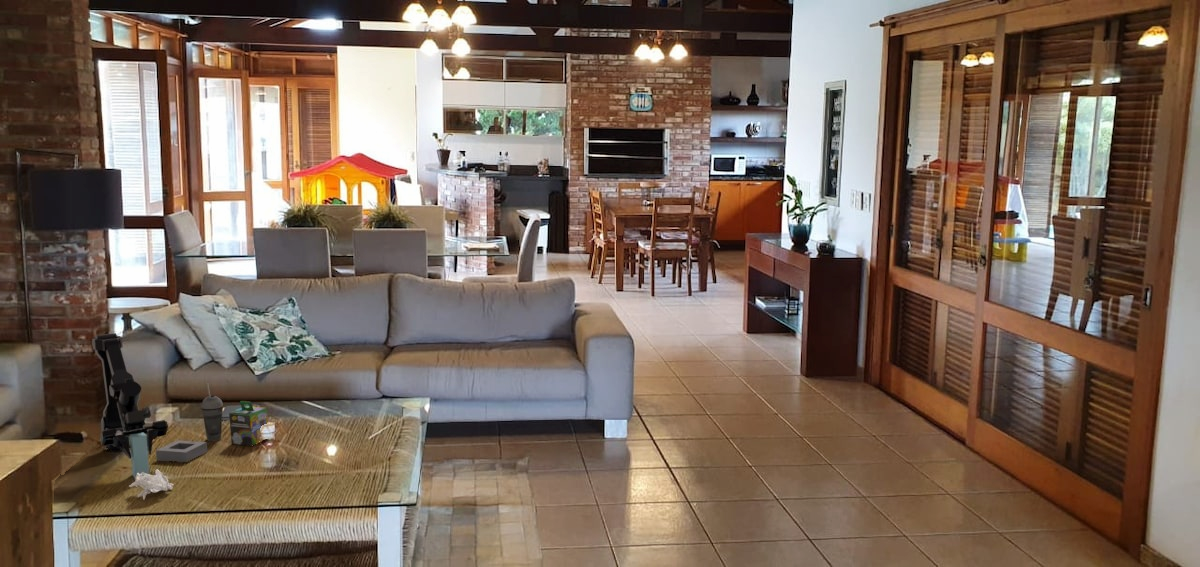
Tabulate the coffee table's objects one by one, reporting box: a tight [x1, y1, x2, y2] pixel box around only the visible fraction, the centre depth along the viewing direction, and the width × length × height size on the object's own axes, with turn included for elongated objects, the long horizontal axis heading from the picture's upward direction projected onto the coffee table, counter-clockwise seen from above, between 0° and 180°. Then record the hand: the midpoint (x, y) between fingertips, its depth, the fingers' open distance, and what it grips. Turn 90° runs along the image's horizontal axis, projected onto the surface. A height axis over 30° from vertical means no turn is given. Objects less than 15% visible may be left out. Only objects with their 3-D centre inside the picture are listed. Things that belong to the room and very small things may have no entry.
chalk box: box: [229, 400, 269, 447], centre depth 327 cm, size 9×9×15 cm
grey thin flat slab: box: [222, 403, 261, 420], centre depth 364 cm, size 20×2×15 cm
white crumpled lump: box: [128, 469, 174, 501], centre depth 278 cm, size 12×7×12 cm
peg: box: [129, 432, 150, 479], centre depth 293 cm, size 4×4×13 cm
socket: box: [155, 439, 208, 463], centre depth 312 cm, size 11×11×4 cm
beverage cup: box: [200, 383, 224, 442], centre depth 329 cm, size 7×7×20 cm
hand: (140, 456), depth 292 cm, fingers open, 5 cm apart
